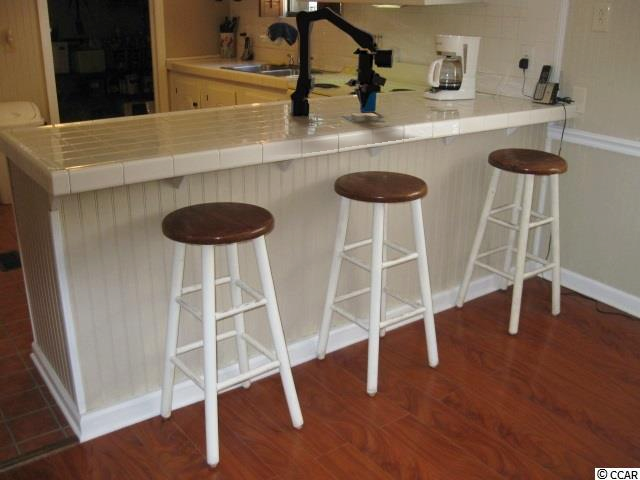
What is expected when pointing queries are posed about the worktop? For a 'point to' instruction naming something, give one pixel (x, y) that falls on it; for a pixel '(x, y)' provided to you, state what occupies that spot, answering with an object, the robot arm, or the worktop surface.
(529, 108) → the worktop surface
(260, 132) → the worktop surface
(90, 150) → the worktop surface
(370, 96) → the beverage can
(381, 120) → the mat
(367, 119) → the rectangular block
